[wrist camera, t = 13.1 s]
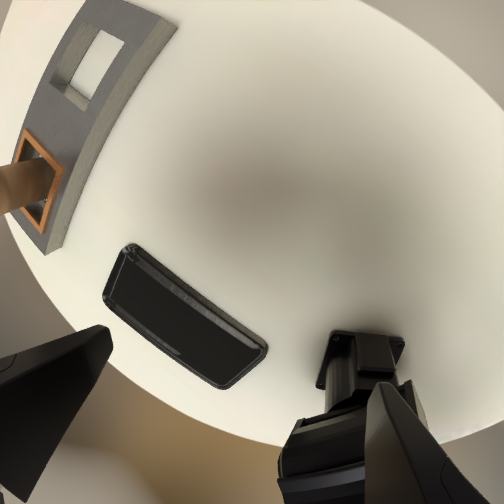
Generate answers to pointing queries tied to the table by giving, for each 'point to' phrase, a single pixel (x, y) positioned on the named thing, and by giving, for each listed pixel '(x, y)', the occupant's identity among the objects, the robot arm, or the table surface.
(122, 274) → the phone
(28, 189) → the peg
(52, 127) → the plate with square holes
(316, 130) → the table surface
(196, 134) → the table surface
